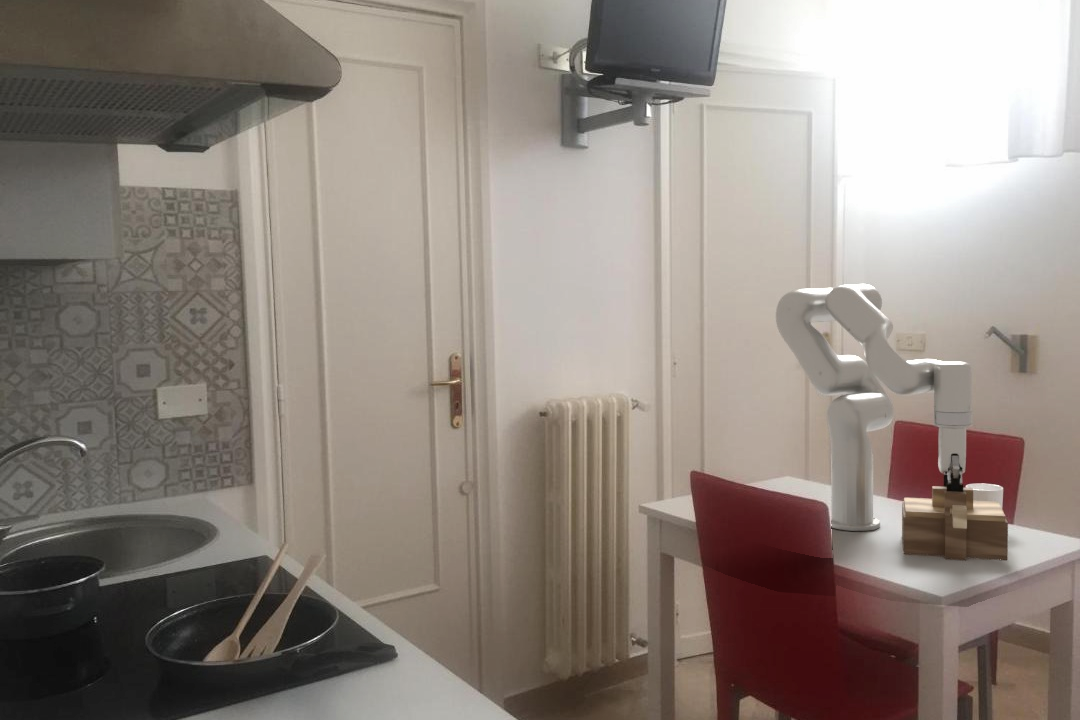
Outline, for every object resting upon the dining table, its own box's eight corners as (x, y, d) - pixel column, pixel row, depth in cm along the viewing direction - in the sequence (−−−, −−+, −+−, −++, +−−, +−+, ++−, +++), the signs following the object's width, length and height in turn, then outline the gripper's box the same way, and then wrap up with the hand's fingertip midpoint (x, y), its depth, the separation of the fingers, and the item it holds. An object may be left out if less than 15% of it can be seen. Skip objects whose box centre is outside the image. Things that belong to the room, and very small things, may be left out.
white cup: (1010, 531, 214) (1011, 488, 213) (984, 535, 211) (984, 492, 210) (983, 523, 221) (984, 482, 220) (957, 527, 218) (957, 485, 218)
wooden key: (950, 516, 191) (950, 497, 191) (962, 517, 191) (962, 498, 190) (953, 527, 183) (953, 507, 182) (966, 528, 182) (966, 508, 182)
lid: (904, 506, 211) (904, 480, 210) (997, 511, 204) (998, 483, 204) (905, 521, 199) (905, 492, 198) (1005, 526, 192) (1005, 497, 191)
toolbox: (902, 536, 212) (902, 476, 211) (999, 542, 205) (999, 479, 204) (903, 556, 197) (903, 491, 196) (1008, 563, 190) (1009, 496, 189)
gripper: (931, 413, 209) (932, 488, 210) (936, 424, 193) (936, 506, 194) (968, 413, 207) (968, 489, 208) (976, 425, 190) (976, 507, 192)
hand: (953, 497), depth 201 cm, fingers open, 9 cm apart
